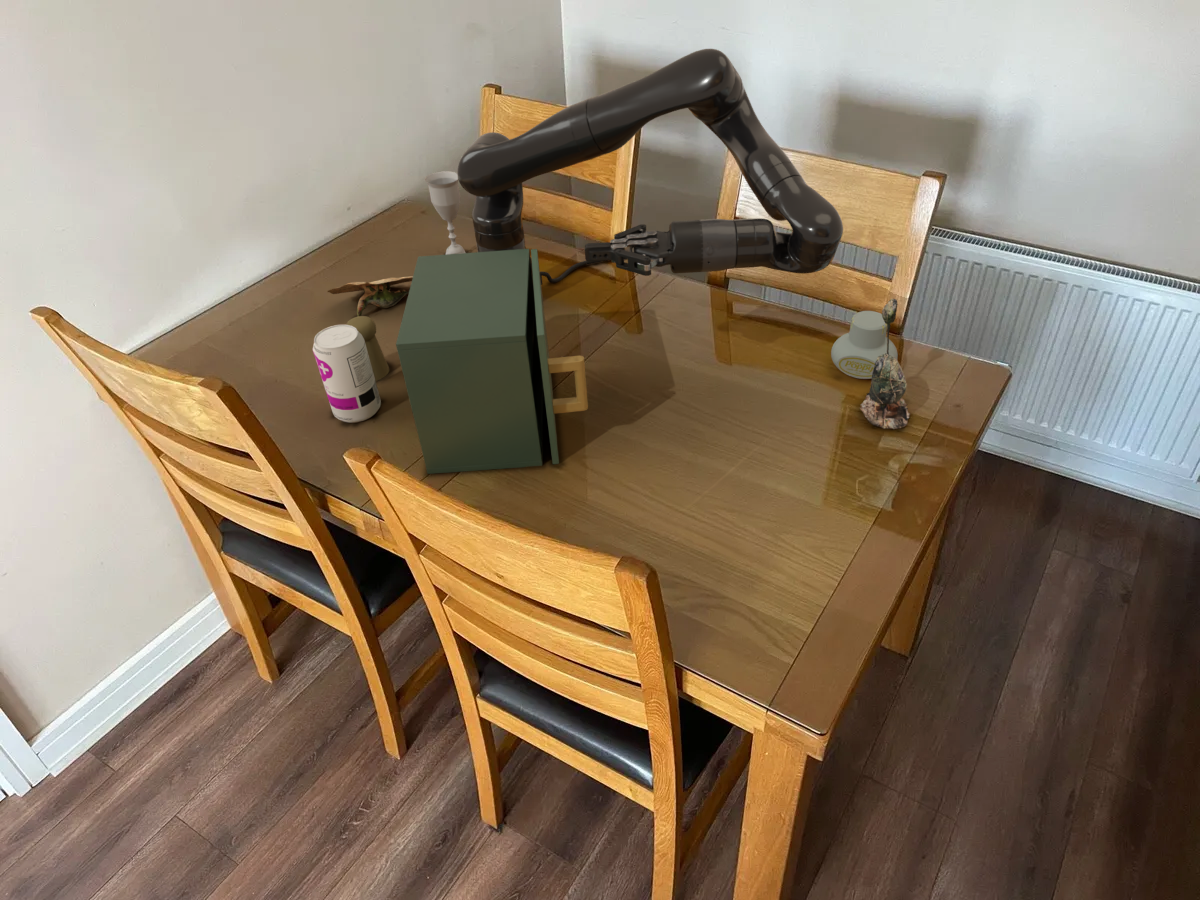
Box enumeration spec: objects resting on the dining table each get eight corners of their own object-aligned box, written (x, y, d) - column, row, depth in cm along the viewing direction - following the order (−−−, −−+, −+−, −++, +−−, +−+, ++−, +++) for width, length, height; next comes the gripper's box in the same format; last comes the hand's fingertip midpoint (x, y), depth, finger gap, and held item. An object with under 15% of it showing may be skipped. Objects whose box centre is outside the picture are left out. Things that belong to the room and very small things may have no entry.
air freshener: (824, 375, 150) (830, 325, 144) (835, 350, 156) (842, 301, 149) (889, 388, 146) (898, 338, 140) (898, 362, 152) (908, 312, 145)
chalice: (478, 252, 193) (465, 173, 181) (462, 266, 188) (448, 186, 176) (450, 247, 195) (436, 169, 184) (433, 261, 191) (418, 182, 179)
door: (580, 366, 156) (569, 245, 141) (592, 460, 136) (582, 330, 121) (545, 370, 156) (530, 249, 141) (552, 464, 136) (537, 335, 121)
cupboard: (543, 371, 156) (529, 248, 140) (542, 466, 136) (525, 335, 120) (443, 378, 156) (418, 256, 141) (427, 474, 136) (395, 344, 121)
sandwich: (387, 311, 188) (384, 274, 186) (431, 313, 179) (429, 275, 177) (314, 318, 174) (310, 279, 172) (358, 321, 165) (354, 280, 164)
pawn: (381, 383, 156) (367, 330, 149) (350, 380, 157) (335, 328, 150) (394, 364, 160) (381, 312, 153) (364, 361, 161) (349, 310, 154)
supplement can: (340, 430, 146) (317, 355, 136) (328, 405, 151) (305, 331, 142) (387, 414, 148) (367, 340, 139) (373, 390, 154) (353, 317, 144)
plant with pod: (847, 429, 139) (864, 321, 126) (868, 391, 146) (886, 285, 133) (898, 443, 135) (922, 333, 122) (917, 403, 143) (941, 296, 130)
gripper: (706, 290, 125) (586, 296, 126) (697, 249, 136) (586, 256, 136) (708, 241, 121) (583, 248, 121) (698, 203, 131) (583, 210, 132)
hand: (585, 252), depth 129 cm, fingers closed
